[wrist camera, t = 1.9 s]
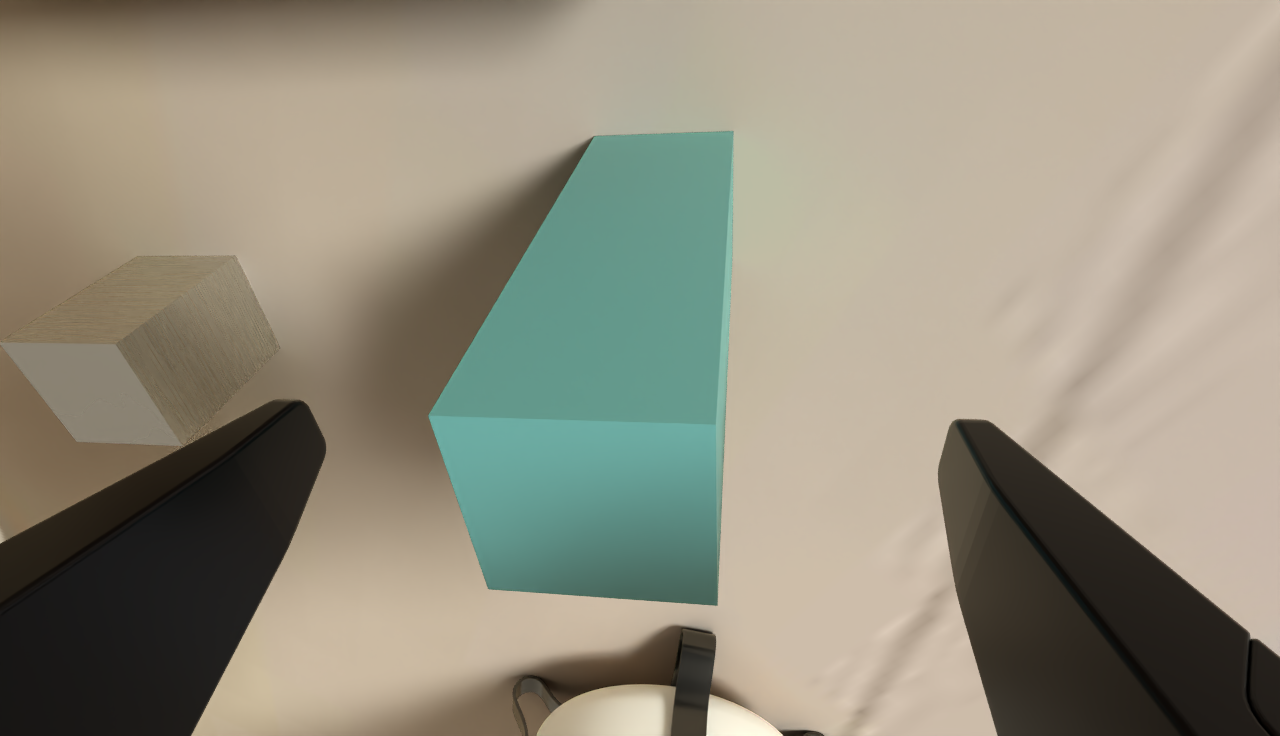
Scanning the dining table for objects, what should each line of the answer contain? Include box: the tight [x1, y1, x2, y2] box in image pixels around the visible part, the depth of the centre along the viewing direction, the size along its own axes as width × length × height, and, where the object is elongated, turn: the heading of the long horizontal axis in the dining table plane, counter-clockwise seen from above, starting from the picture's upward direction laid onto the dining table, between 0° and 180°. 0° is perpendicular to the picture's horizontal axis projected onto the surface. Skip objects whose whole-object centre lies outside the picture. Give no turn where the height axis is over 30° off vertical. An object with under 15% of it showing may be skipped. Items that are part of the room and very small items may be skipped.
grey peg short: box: [0, 256, 280, 446], centre depth 18 cm, size 3×3×4 cm
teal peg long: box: [428, 131, 733, 606], centre depth 12 cm, size 3×3×10 cm
